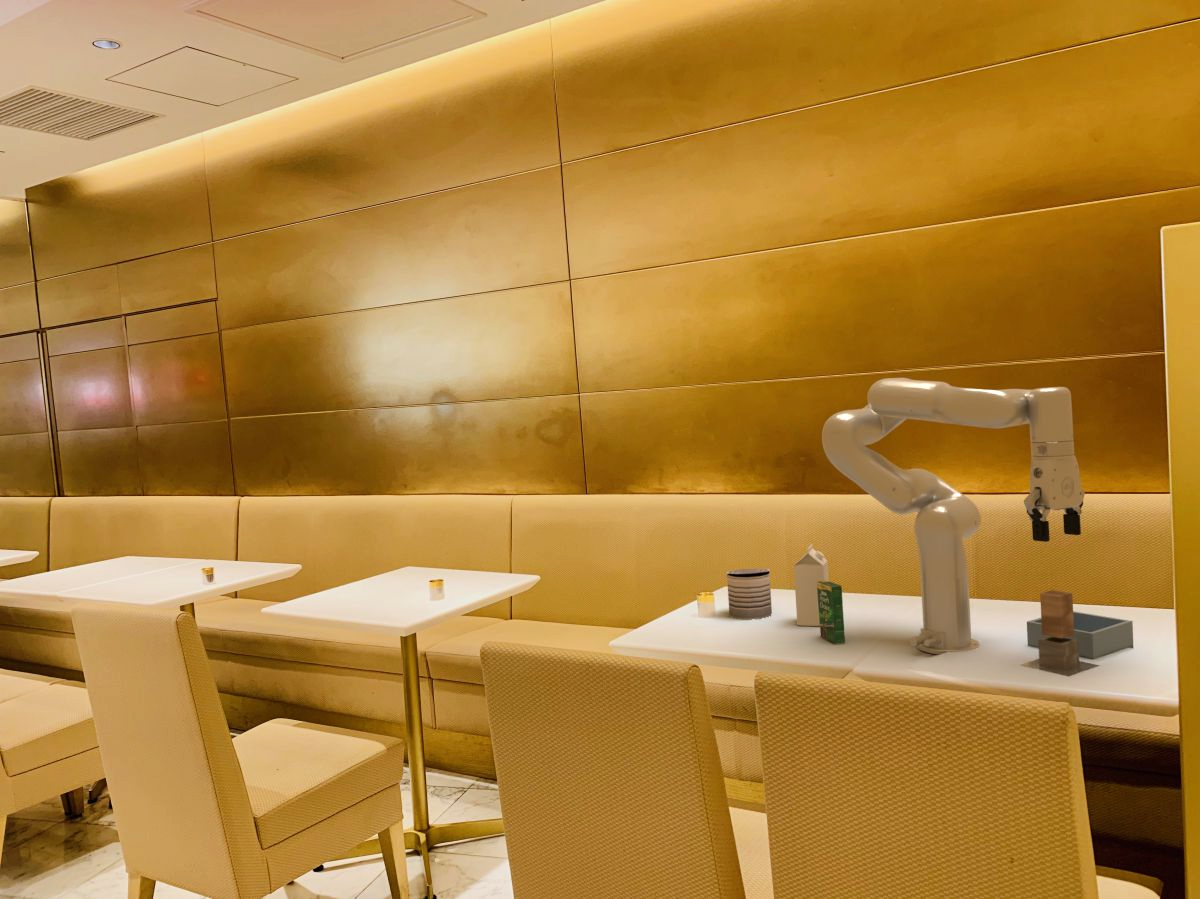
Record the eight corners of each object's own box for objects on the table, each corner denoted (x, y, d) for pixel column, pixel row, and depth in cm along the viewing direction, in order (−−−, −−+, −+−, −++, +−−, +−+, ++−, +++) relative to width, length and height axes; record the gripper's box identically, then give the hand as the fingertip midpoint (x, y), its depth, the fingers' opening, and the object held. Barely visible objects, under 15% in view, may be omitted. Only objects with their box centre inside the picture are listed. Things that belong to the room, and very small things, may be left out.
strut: (1064, 670, 170) (1060, 597, 170) (1039, 665, 175) (1036, 593, 174) (1079, 665, 173) (1076, 593, 172) (1054, 659, 177) (1051, 589, 177)
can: (726, 620, 231) (723, 573, 231) (730, 609, 242) (728, 565, 242) (771, 619, 229) (769, 573, 228) (774, 609, 240) (771, 564, 239)
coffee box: (818, 636, 210) (815, 580, 210) (830, 634, 211) (827, 579, 210) (833, 644, 202) (830, 586, 202) (845, 643, 203) (842, 585, 202)
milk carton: (797, 626, 221) (792, 549, 220) (802, 619, 227) (797, 544, 226) (826, 627, 218) (822, 549, 217) (830, 619, 224) (826, 544, 224)
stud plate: (1069, 681, 167) (1067, 655, 167) (1019, 670, 176) (1018, 645, 175) (1100, 670, 172) (1099, 645, 172) (1050, 659, 181) (1049, 635, 181)
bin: (1093, 664, 176) (1092, 633, 176) (1027, 650, 188) (1026, 621, 188) (1133, 650, 183) (1132, 621, 183) (1067, 637, 195) (1066, 610, 195)
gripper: (1041, 454, 169) (1046, 545, 169) (1097, 446, 177) (1102, 533, 178) (1006, 454, 175) (1011, 542, 176) (1062, 447, 183) (1066, 530, 184)
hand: (1057, 537), depth 177 cm, fingers open, 9 cm apart
